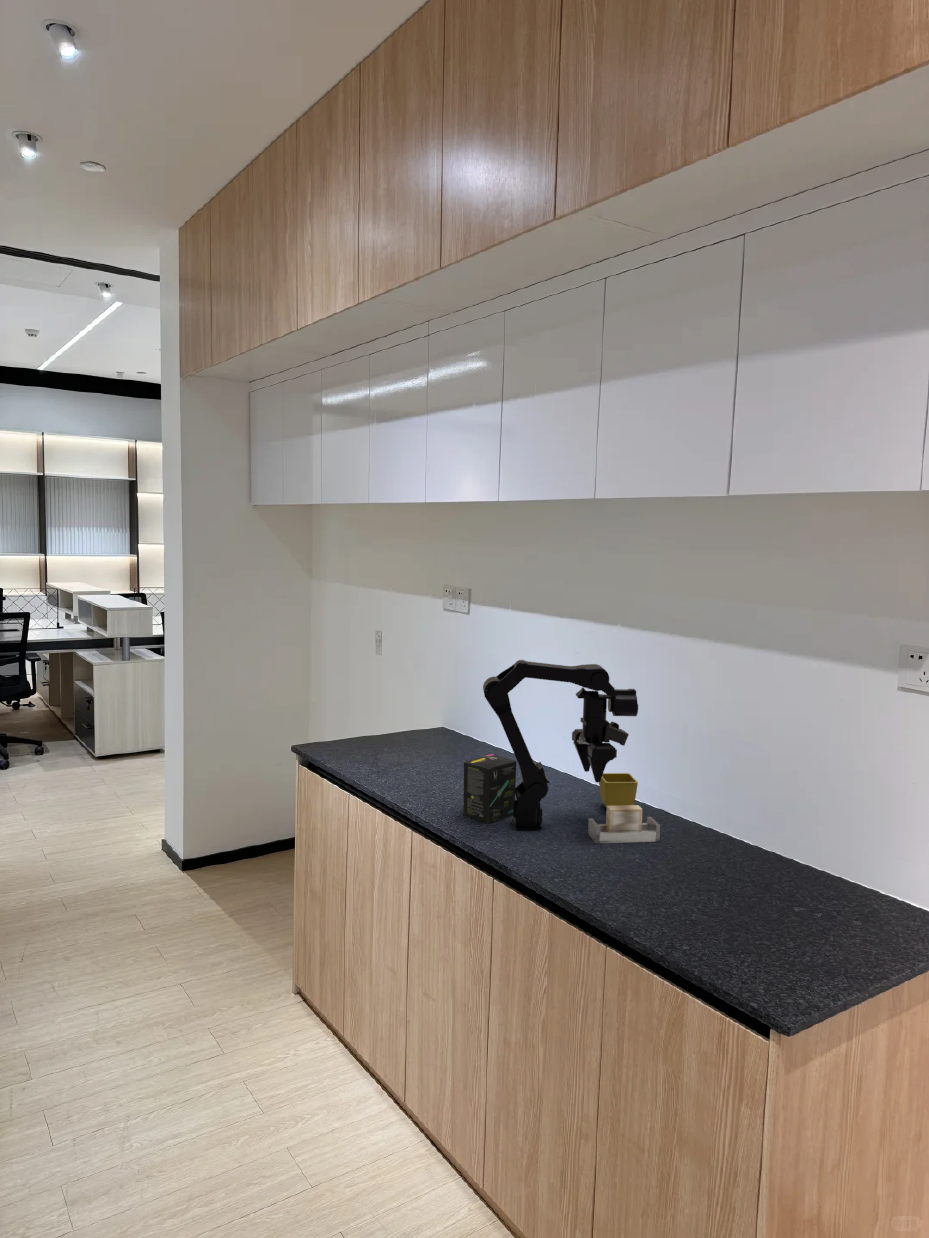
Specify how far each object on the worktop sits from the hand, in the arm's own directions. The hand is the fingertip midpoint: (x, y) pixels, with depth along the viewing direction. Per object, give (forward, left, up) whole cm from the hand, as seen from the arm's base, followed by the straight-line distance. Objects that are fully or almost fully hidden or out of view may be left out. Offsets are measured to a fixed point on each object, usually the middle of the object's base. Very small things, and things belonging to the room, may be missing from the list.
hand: (592, 776), depth 208 cm
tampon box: (-24, +11, -13) cm, 30 cm away
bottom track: (+6, -8, -13) cm, 16 cm away
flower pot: (+11, +12, -13) cm, 21 cm away
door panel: (+6, -8, -12) cm, 16 cm away
